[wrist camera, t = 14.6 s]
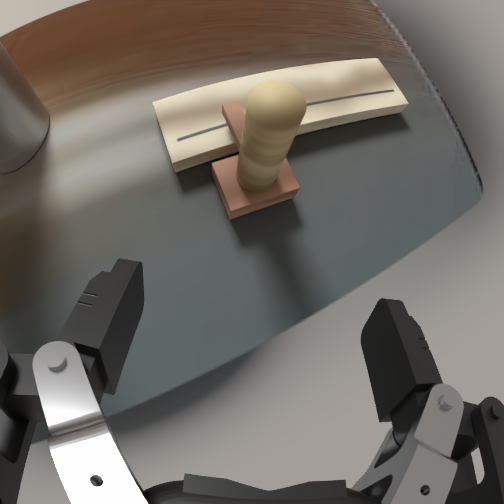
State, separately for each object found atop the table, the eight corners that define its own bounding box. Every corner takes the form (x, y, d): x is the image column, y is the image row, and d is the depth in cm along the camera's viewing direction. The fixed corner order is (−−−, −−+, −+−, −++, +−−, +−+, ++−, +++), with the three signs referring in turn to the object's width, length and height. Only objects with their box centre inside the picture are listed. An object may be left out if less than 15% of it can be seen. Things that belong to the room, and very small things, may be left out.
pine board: (155, 114, 28) (152, 102, 26) (371, 67, 33) (377, 57, 31) (175, 172, 27) (172, 162, 25) (400, 112, 32) (408, 103, 30)
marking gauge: (197, 138, 28) (190, 41, 16) (257, 121, 29) (279, 25, 17) (229, 219, 27) (239, 149, 15) (293, 197, 28) (343, 123, 16)
